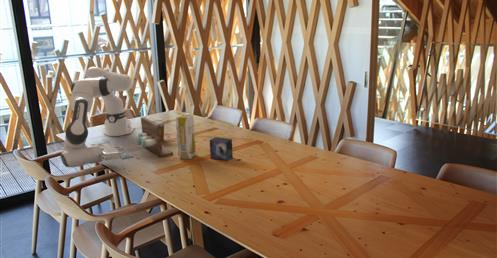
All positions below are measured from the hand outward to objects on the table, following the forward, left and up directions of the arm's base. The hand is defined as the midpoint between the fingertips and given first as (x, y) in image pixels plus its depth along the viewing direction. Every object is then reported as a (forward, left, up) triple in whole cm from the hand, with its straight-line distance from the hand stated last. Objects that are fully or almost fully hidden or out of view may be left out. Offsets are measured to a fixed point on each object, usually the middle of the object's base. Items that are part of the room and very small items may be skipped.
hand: (123, 148), depth 219 cm
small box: (-8, +50, -8) cm, 51 cm away
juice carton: (-10, +31, -8) cm, 33 cm away
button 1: (-22, +5, -2) cm, 23 cm away
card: (-12, -5, -8) cm, 15 cm away
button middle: (-15, +7, -2) cm, 16 cm away
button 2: (-9, +11, -2) cm, 15 cm away
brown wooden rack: (-19, +12, -8) cm, 24 cm away
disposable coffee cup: (-39, +6, -8) cm, 40 cm away
